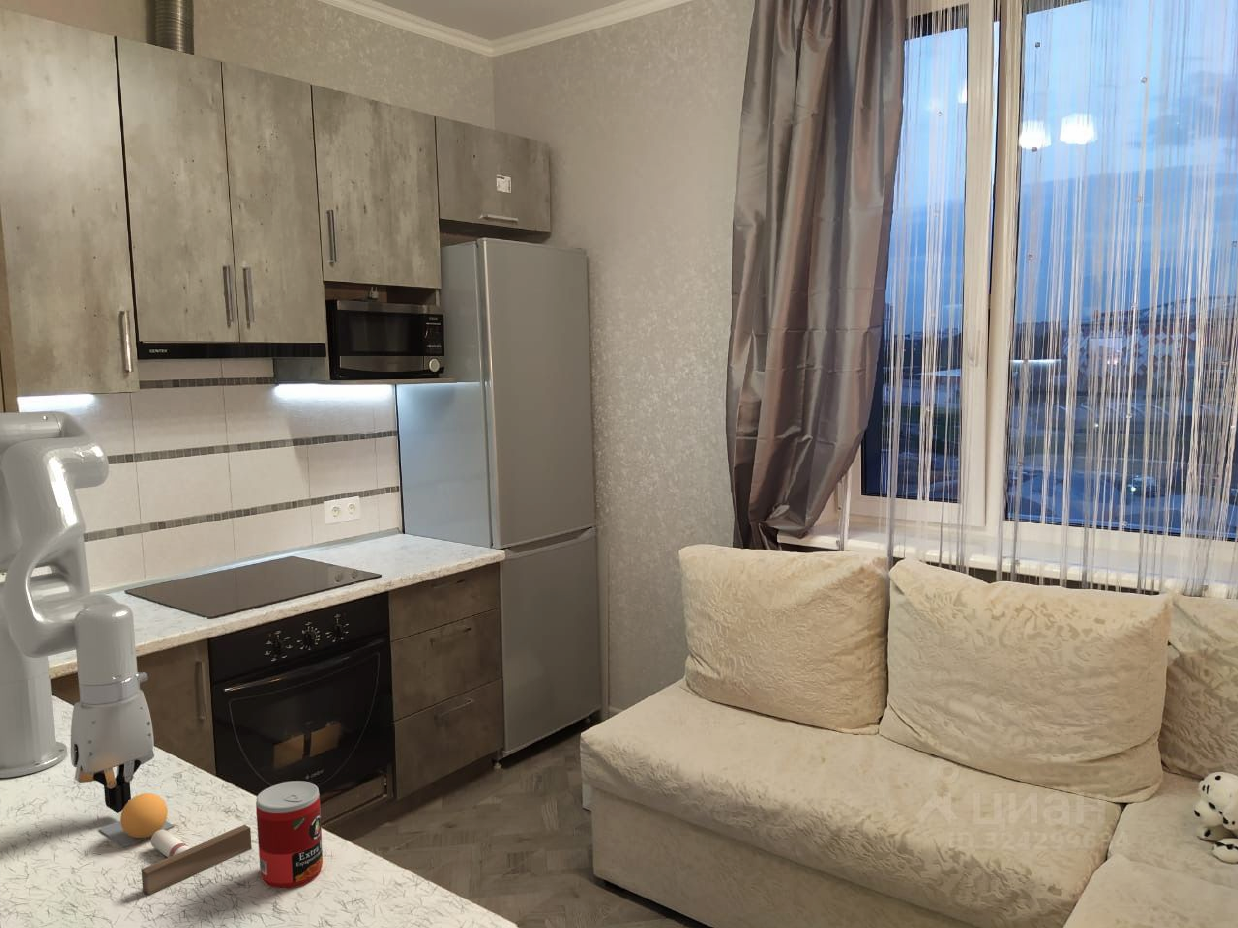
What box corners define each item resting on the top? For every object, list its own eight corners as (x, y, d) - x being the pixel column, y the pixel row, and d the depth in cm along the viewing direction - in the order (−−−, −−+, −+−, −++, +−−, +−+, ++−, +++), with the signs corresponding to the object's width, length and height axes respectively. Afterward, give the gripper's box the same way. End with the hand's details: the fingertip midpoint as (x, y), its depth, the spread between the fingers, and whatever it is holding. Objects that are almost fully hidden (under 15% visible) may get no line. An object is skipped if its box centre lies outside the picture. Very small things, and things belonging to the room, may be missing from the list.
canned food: (304, 892, 114) (299, 810, 113) (247, 886, 116) (242, 805, 115) (334, 860, 122) (330, 782, 120) (281, 854, 123) (276, 778, 122)
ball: (132, 821, 124) (131, 854, 126) (176, 802, 128) (174, 834, 130) (113, 795, 127) (112, 827, 129) (156, 778, 131) (154, 809, 134)
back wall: (143, 891, 115) (141, 869, 115) (245, 844, 126) (244, 824, 126) (148, 895, 114) (147, 873, 114) (251, 848, 125) (250, 827, 125)
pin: (147, 837, 124) (174, 857, 119) (164, 825, 126) (192, 844, 121) (154, 851, 125) (182, 872, 120) (171, 839, 127) (199, 859, 122)
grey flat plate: (99, 830, 131) (98, 828, 131) (148, 811, 136) (148, 809, 136) (124, 847, 126) (124, 845, 126) (174, 826, 131) (174, 825, 131)
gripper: (149, 670, 140) (157, 782, 142) (42, 699, 129) (53, 821, 130) (172, 679, 136) (181, 795, 138) (64, 710, 124) (75, 836, 126)
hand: (118, 807), depth 134 cm, fingers closed
